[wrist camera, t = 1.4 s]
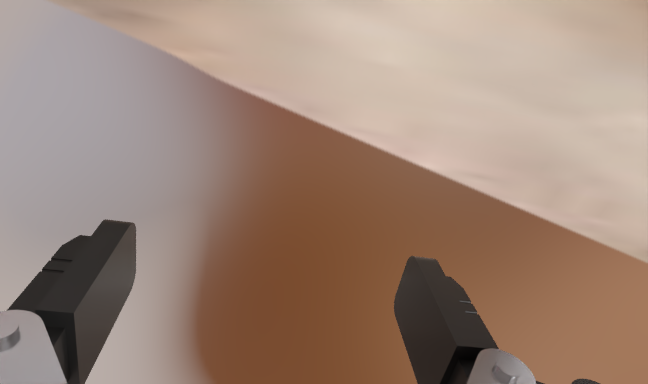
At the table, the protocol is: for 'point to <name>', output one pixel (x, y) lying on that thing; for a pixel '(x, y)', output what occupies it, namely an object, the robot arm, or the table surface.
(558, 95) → the table surface
